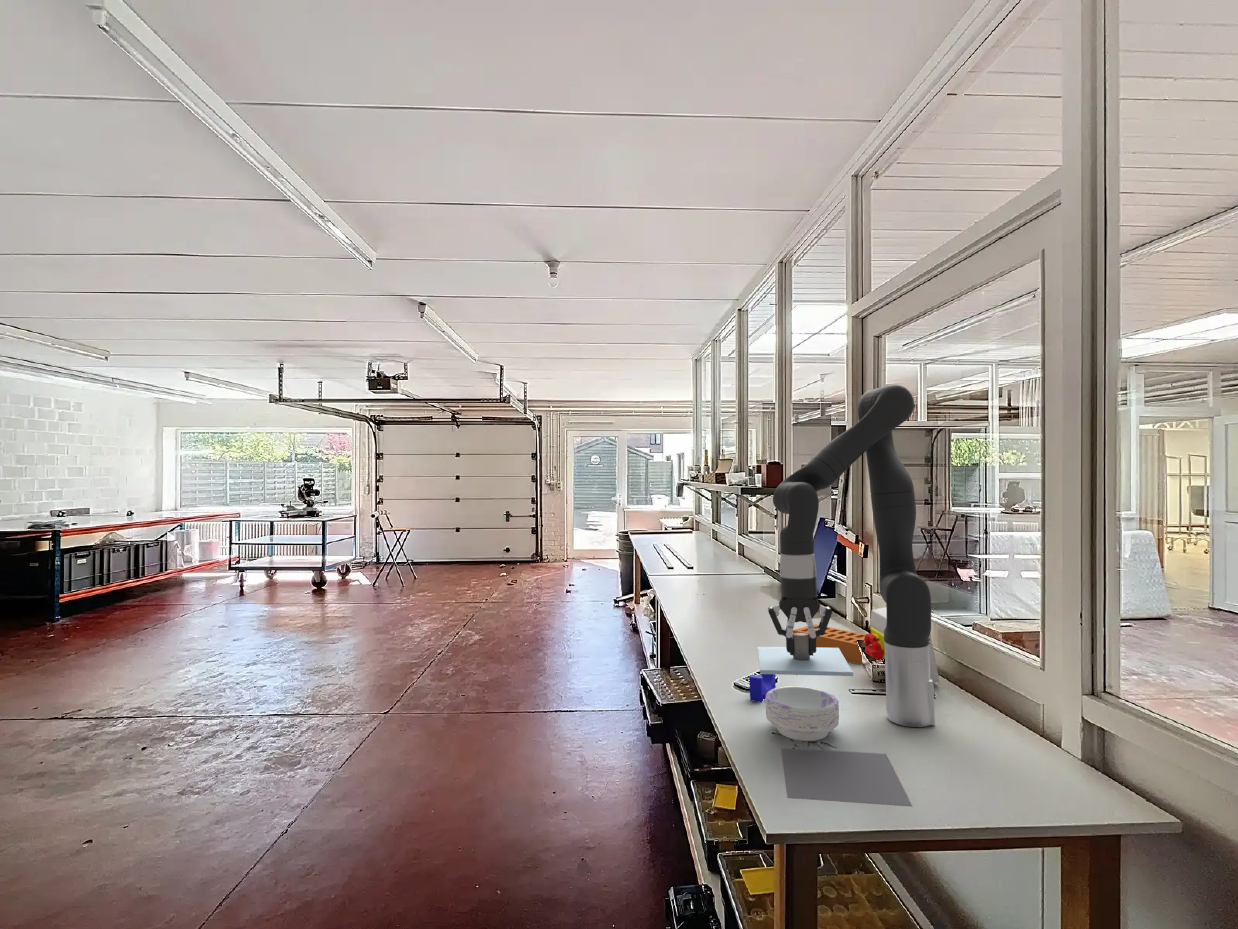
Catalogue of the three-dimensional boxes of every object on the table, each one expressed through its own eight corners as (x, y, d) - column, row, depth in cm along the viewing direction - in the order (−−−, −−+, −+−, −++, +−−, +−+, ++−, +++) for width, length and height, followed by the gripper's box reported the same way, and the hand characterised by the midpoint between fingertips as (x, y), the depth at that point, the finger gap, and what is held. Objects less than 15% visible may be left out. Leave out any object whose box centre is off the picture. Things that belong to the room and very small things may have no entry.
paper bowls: (855, 740, 132) (854, 701, 132) (795, 753, 126) (794, 713, 126) (808, 715, 146) (807, 681, 146) (752, 727, 140) (751, 691, 141)
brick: (792, 648, 204) (792, 630, 204) (816, 642, 211) (815, 624, 211) (861, 666, 184) (861, 645, 184) (885, 658, 191) (884, 638, 191)
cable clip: (758, 686, 168) (758, 663, 168) (775, 688, 166) (774, 665, 166) (744, 700, 158) (743, 676, 158) (762, 703, 156) (761, 678, 156)
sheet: (838, 651, 143) (837, 625, 143) (853, 676, 126) (851, 646, 126) (757, 650, 146) (756, 625, 147) (760, 674, 129) (759, 645, 129)
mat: (886, 756, 124) (886, 753, 124) (912, 809, 104) (912, 806, 104) (781, 750, 128) (781, 748, 128) (787, 800, 108) (787, 797, 108)
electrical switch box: (863, 678, 178) (849, 608, 178) (915, 669, 177) (902, 599, 178) (883, 696, 163) (868, 620, 164) (940, 687, 163) (926, 610, 163)
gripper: (829, 571, 139) (832, 650, 138) (763, 572, 141) (766, 649, 141) (834, 577, 131) (838, 660, 131) (765, 577, 134) (768, 659, 134)
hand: (801, 654), depth 136 cm, fingers closed on sheet, 3 cm apart
